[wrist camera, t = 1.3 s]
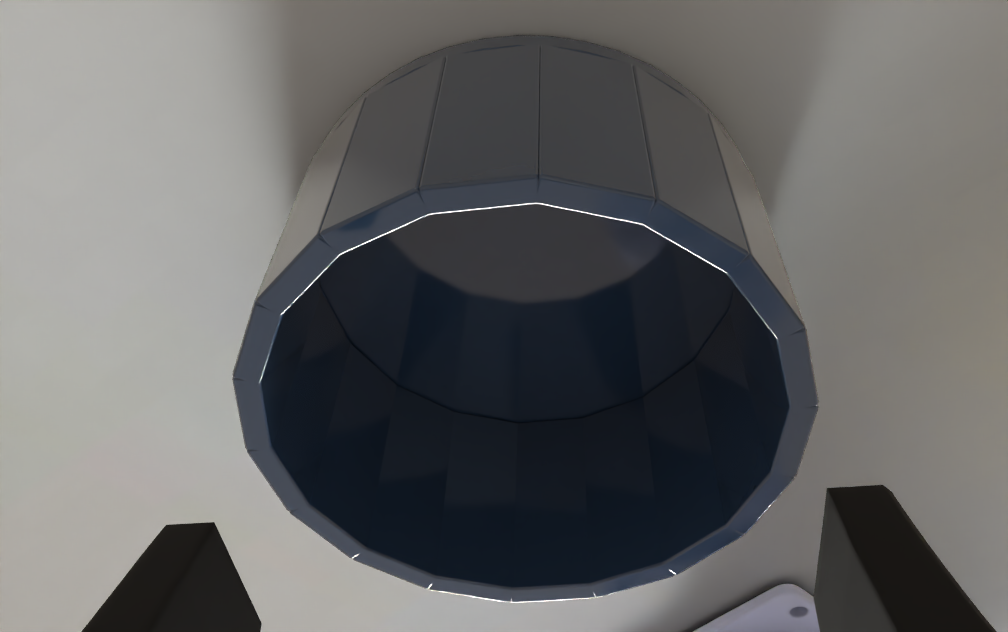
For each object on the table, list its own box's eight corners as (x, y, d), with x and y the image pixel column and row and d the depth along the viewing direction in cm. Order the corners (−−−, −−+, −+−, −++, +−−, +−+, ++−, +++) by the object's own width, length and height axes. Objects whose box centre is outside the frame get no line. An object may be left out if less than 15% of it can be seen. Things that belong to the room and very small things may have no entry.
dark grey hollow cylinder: (856, 243, 21) (940, 422, 16) (535, 474, 25) (533, 660, 21) (514, -84, 17) (503, 35, 12) (212, 263, 21) (127, 437, 17)
